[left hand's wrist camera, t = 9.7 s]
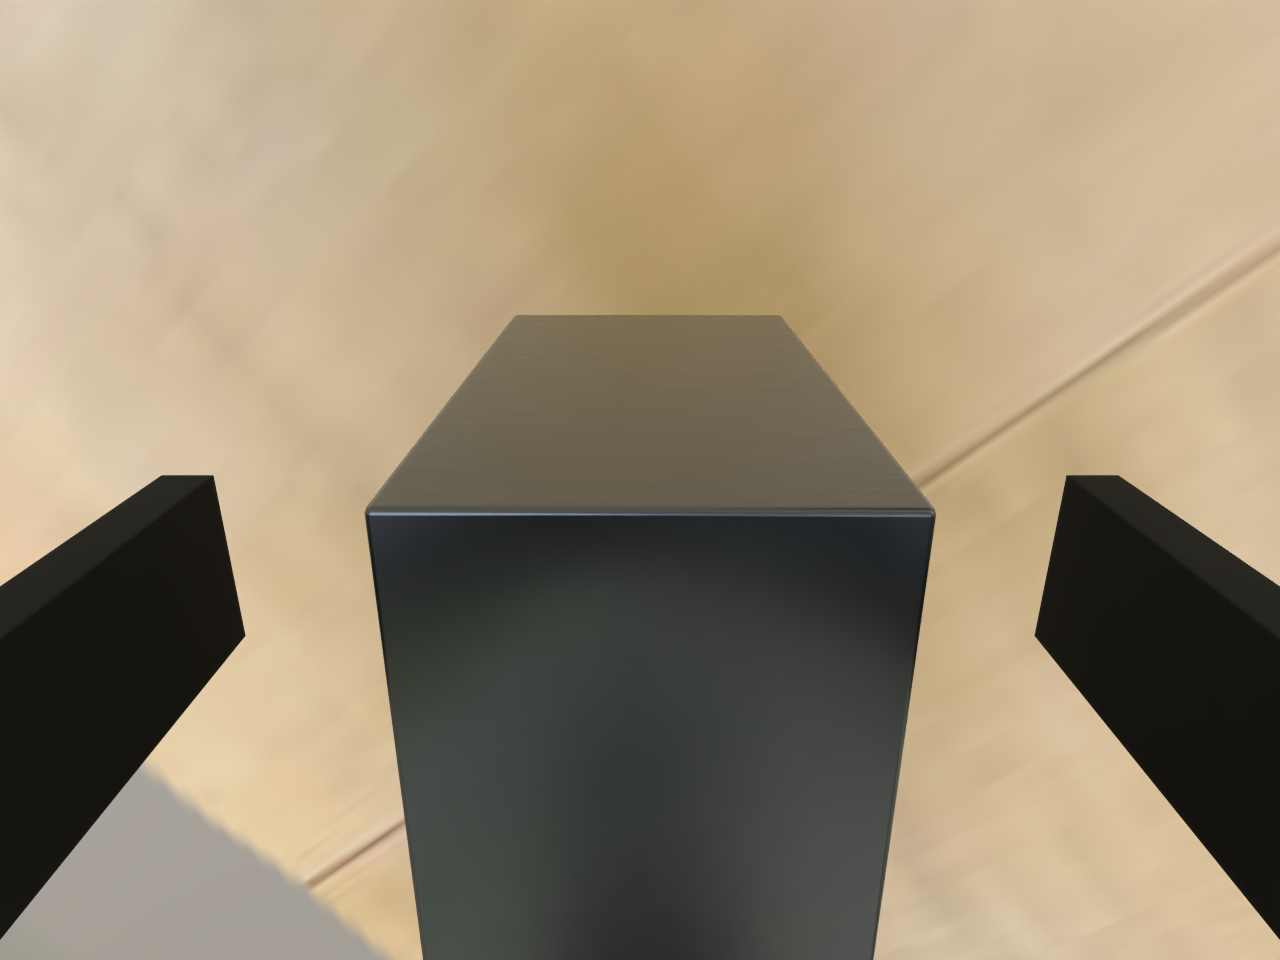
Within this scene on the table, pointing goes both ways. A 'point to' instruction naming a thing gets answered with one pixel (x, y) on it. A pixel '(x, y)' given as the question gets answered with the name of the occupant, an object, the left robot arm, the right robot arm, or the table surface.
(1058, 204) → the table surface
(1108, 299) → the table surface
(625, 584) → the bar
